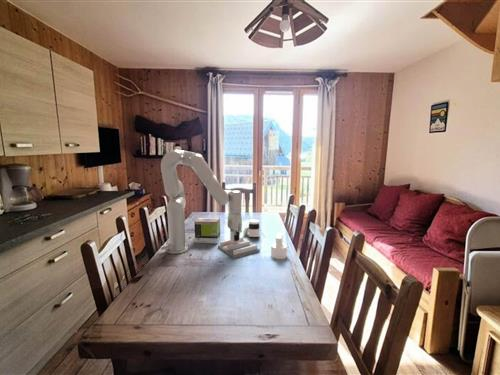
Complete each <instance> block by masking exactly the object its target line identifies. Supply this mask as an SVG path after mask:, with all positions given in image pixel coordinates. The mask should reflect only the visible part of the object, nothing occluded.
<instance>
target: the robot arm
mask: <svg viewBox="0 0 500 375" xmlns="http://www.w3.org/2000/svg"><path fill="white" fill-rule="evenodd" d="M179 164H180V165H184V166H188V167H191V169H192V170H193V171H194V173H195V174H196V176H198V177H199V180H201V182H202V183H203V186H204V187H205V188H206V190H207V191H208V192H209V194H210V195H211V196H212V198H213V199H214V201H216V203H217V204H218V205H220V206H225V205H226V204H228V214H227V228H229V230H230V233H231V231H233V230H234V231H235V235H234V241H239V234H240V235H241V233H242V232H243V231H242V228H243V221H242V219H243V217H242V191H241V190H237V189H235V190H228V189H224V188H223V187H222V185H221V183H220V182H219V181H218V178H217V176H216V174H215V172H214V171H213V170H212V168H211V167H210V166H209V165H208V163H207V162H206V160H205V157H203V155H202V154H200V153H197V152H192V151H188V150H182V149H171V150H169V151H168V152H167V153H165V155H163V157H162V159H161V162H160V170H161V177H162V183H163V188H164V193H165V194H166V195H167V196H168V198H169V201H168V203H167V205H166V213H167V214H166V215H167V225H168V226H167V228H168V231H167V232H168V242H167V244H166V245H161V246H160V250H164V251H166V252H167V253H168V254H171V255H176V254H177V255H179V254H183V253H186V252H187V251H188V250H189V246H188V245H186V224H185V223H186V222H185V220H186V219H185V208H186V205H187V201H186V194H185V190H184V183H182V181H181V180H180V179H179V177H178V176H179V175H178V170H177V166H178V165H179Z"/></svg>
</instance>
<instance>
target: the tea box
mask: <svg viewBox="0 0 500 375" xmlns="http://www.w3.org/2000/svg"><path fill="white" fill-rule="evenodd" d="M193 222H194V223H193V225H194V243H196V244H219V242H220V240H221V218H220V217H198V218H197V219H196V220H194V221H193Z"/></svg>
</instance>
